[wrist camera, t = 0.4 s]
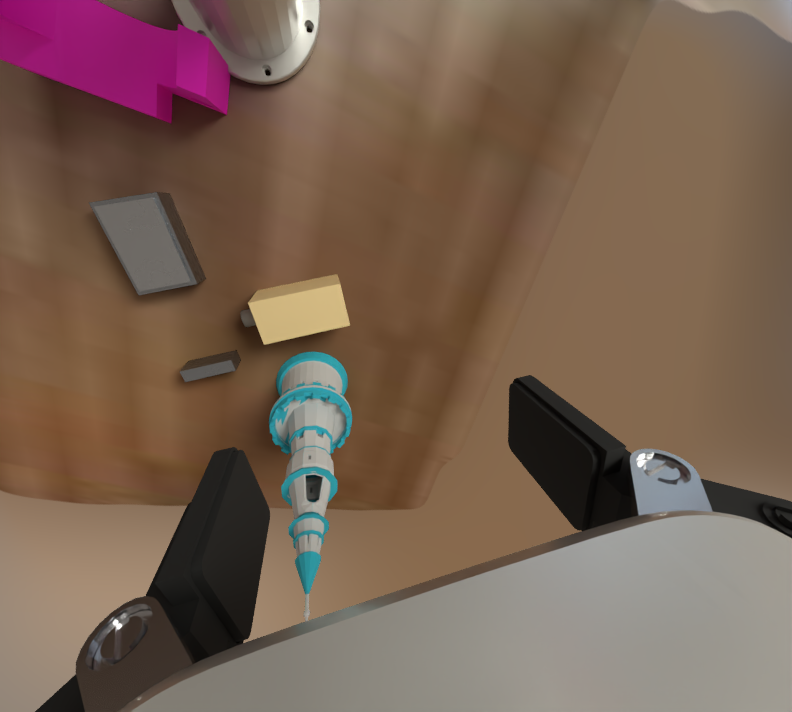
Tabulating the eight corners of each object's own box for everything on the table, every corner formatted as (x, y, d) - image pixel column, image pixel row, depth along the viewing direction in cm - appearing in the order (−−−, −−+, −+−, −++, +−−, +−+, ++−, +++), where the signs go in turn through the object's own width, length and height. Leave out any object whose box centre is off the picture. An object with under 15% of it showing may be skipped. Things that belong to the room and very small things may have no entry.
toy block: (32, 72, 27) (-54, 38, 21) (21, -25, 25) (-79, -97, 18) (224, 143, 32) (203, 133, 26) (230, 69, 30) (209, 38, 24)
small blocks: (107, 203, 32) (86, 202, 29) (169, 193, 33) (155, 192, 30) (193, 370, 41) (184, 383, 38) (240, 360, 42) (235, 371, 39)
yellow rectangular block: (240, 293, 39) (228, 306, 33) (337, 274, 40) (340, 283, 35) (255, 330, 41) (246, 348, 36) (345, 310, 43) (350, 325, 37)
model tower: (270, 406, 46) (205, 677, 19) (284, 344, 42) (229, 570, 16) (337, 416, 49) (360, 661, 23) (355, 360, 46) (408, 568, 19)
